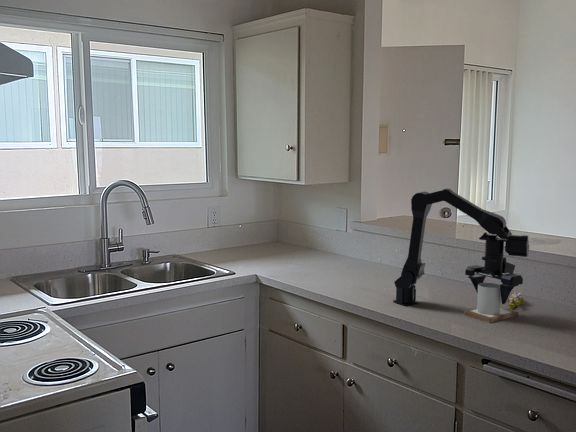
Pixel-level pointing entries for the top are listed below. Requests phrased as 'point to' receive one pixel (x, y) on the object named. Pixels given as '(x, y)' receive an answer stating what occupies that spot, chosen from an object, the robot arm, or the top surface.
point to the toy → (515, 299)
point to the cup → (489, 298)
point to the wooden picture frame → (491, 318)
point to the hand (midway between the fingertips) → (491, 300)
